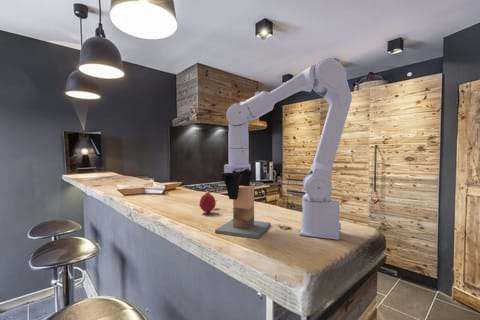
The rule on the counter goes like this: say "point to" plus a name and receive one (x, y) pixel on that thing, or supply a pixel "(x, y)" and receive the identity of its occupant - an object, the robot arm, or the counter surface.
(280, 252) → the counter surface
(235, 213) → the walnut block
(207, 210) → the onion
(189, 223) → the counter surface
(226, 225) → the slate board
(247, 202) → the terracotta block
